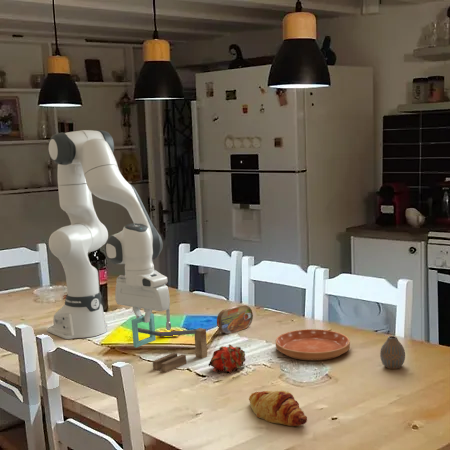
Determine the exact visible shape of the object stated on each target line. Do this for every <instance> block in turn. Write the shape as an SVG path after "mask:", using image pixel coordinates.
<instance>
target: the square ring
mask: <svg viewBox="0 0 450 450" xmlns="http://www.w3.org/2000/svg"><path fill="white" fill-rule="evenodd" d="M142 317H143V316H142ZM142 317H139V318H136V317H135V318H134V319H131V330H132V341H133V347H134V348H139V347H141V346H144V345H146V344H149V343H152V342H155V341H156V337H157V336H155V335H150V334H149V337H146V338H143V339H141V340H140V339H139V332H138V328H139V326H138V324H140V323H142V322H143V321H142V320H143V319H142ZM143 323H144V322H143ZM148 330H152V331H156V328H155V314H154V313H151V315H150V322H148Z"/></svg>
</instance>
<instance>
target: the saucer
mask: <svg viewBox="0 0 450 450" xmlns="http://www.w3.org/2000/svg"><path fill="white" fill-rule="evenodd" d="M350 346H351V340H350V338H349V337H348V336H347V335H345V334H343V333H341V332H339V331H338V332H337V331H334V330H327V329H319V328H316V329H314V328H313V329H312V328H311V329H310V328H309V329H298V330H297V329H296V330H292V331H288V332H285V333H283V334H280V335H279V336H277V337H276V338H275V348H276V350H277V351H278V352H280V353H282V354H284V355H285V356H287V357H290V358H292V359H295V360H296V359H297V360H302V361H325V360H332V359H335V358H337V357H340V356H342V355H343V354H345V353H347V352H348V351H349V350H350V348H351V347H350Z"/></svg>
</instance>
